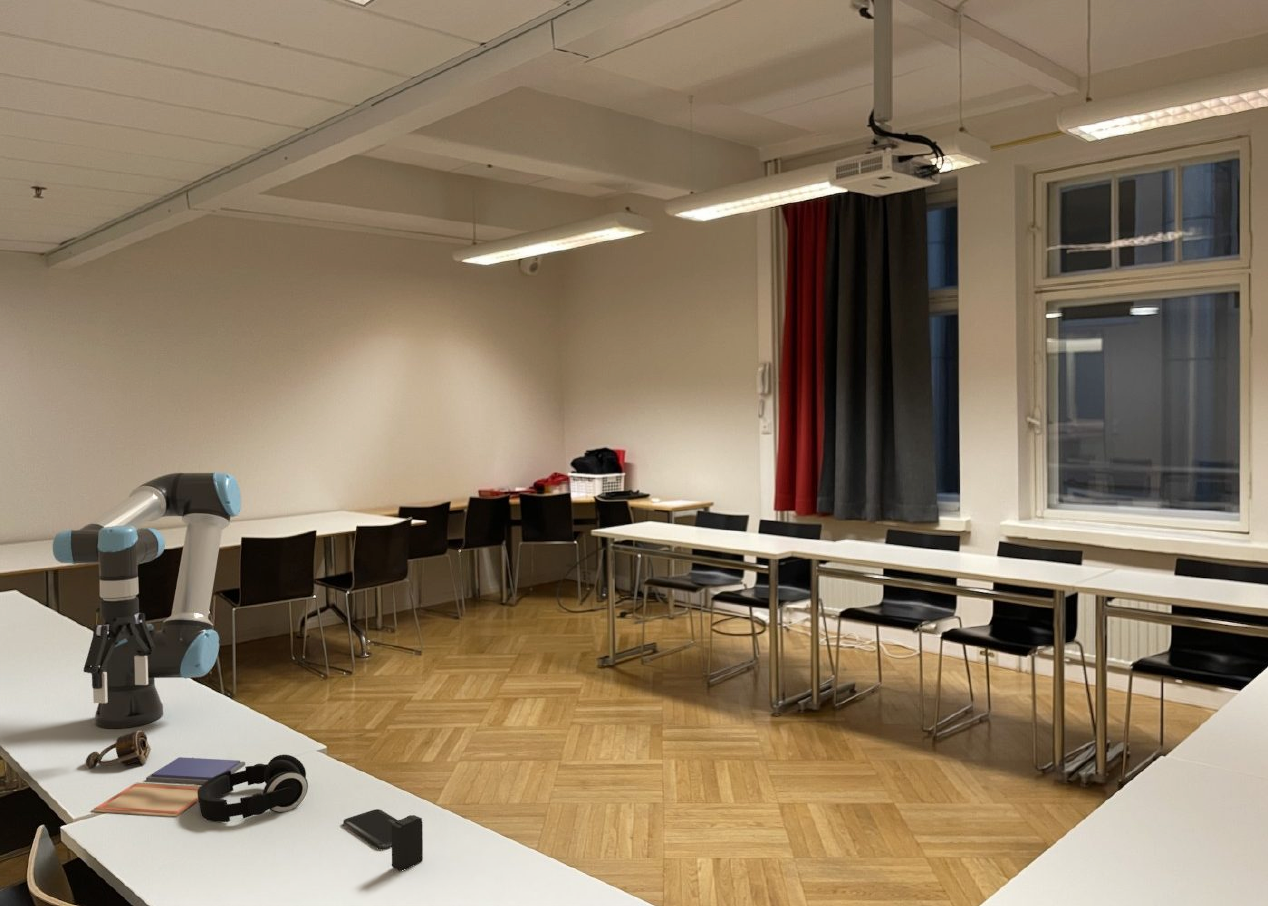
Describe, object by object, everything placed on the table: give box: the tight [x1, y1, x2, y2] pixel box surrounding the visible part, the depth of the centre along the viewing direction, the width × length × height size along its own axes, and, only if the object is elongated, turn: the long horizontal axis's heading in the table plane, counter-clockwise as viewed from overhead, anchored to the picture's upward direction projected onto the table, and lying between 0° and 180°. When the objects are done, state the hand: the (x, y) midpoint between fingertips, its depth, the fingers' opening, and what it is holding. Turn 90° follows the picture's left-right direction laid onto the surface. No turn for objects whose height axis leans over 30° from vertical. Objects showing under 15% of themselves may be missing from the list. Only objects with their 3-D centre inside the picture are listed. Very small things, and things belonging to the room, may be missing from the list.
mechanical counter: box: [85, 730, 152, 769], centre depth 213 cm, size 7×13×10 cm
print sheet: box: [90, 782, 201, 818], centre depth 194 cm, size 14×18×1 cm
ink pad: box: [145, 756, 246, 785], centre depth 208 cm, size 11×16×1 cm
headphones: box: [197, 754, 309, 823], centre depth 192 cm, size 18×8×20 cm
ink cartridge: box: [391, 814, 424, 872], centre depth 167 cm, size 5×2×8 cm, turn 141°
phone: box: [343, 809, 399, 851], centre depth 180 cm, size 8×1×15 cm
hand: (121, 693), depth 212 cm, fingers open, 13 cm apart
